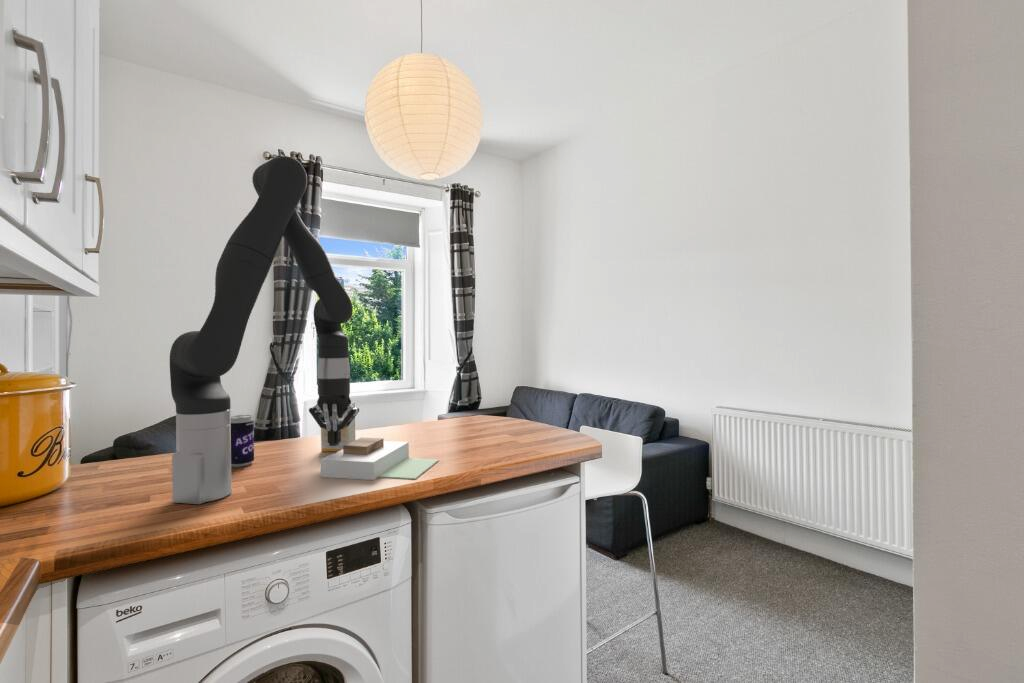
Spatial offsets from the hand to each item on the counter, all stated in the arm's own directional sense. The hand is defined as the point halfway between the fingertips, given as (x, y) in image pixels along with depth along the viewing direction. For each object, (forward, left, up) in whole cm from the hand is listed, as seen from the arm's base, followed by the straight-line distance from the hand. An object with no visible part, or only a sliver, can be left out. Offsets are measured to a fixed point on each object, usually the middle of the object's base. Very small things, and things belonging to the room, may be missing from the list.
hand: (334, 445), depth 120 cm
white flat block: (0, -9, -5) cm, 10 cm away
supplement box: (+14, +7, -5) cm, 16 cm away
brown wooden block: (0, -8, -1) cm, 8 cm away
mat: (0, -20, -5) cm, 21 cm away
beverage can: (-4, +23, -5) cm, 24 cm away
